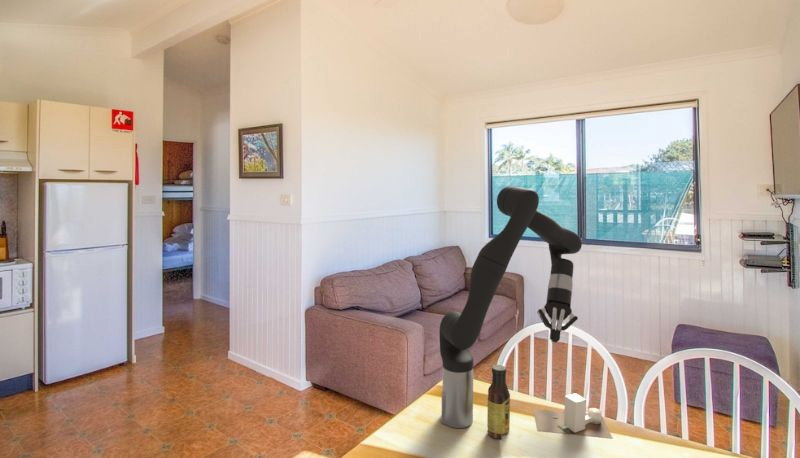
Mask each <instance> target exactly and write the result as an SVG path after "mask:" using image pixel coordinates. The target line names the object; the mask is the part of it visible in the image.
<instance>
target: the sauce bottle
mask: <svg viewBox="0 0 800 458" xmlns="http://www.w3.org/2000/svg"><path fill="white" fill-rule="evenodd" d="M491 373H492V378H491V381H492V382H491V384H490V385H489V387H488V389H487V419H486V420H487V422H486V423H487V434H488V435H489V436H490V437H492V438H493V439H496V440H502V438H503V437H502V436H506V435H508V433H509V432H510V425H511V424H510V423H511V421H510V420H511V419H510V418H511V416H510V415H511V394H510V391H509V388H508V385H507V375H506V374H507V367H506V366H505V365H502V364H494V365H492V366H491Z"/></svg>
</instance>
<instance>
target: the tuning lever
mask: <svg viewBox="0 0 800 458" xmlns="http://www.w3.org/2000/svg"><path fill="white" fill-rule="evenodd" d="M563 410H564V411H563V412H564V426H565V427H563V428H564V429H565V428H569V429H570V430H571V431H573V432H574V433H575V432H578V431H581V430H584V429H585V424H586V423H589V422H591V423H593V424H600V423H601V415H602V411H601V409H599V408H595V407H589V408H588V409H587V399H586V398H585V397H584V396H581V395H580V394H578V393H576V392H575V393H572V394H568V395H565V396H564V409H563ZM586 414H588V415H586Z"/></svg>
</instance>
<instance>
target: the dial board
mask: <svg viewBox="0 0 800 458" xmlns="http://www.w3.org/2000/svg"><path fill="white" fill-rule="evenodd" d="M532 411H533V414H534V419H535V420H534V421H535V425H536V430H537V432H542V433H543V432H545V433H554V434H564V435H572V436H573V435H574V436H582V437H583V436H584V437H593V438H603V439H604V438H605V439H610V440H611V439H613V436H612V434H611V432H610V429H609V428H608V425H607V424H606V421H605V420H604V417H603V415H602V414H601V423H600V424H593V423H591V422H589V423H586V424H585V429H584V430H581V431H578V432H575V433H574V432H573V431H571V430H570V429H569V428H565V429H564V428H563V427H565V426H564V411H560V410H550V409H548V410H546V409H540V408H539V409H538V408H537V409H536V408H533V410H532ZM586 415H588V413H586Z"/></svg>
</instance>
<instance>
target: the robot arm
mask: <svg viewBox="0 0 800 458" xmlns="http://www.w3.org/2000/svg"><path fill="white" fill-rule="evenodd" d="M539 203H540V198H539V193H537V191H535V190H533V189H532V188H531V189H530V188H525V187H520V186H519V187H518V186H514V185H513V186H511V185H510V186H505V187H503V188H502V189H501V190H500V191H499V193H498V194H497V196H496V206H497V208H498V210H499V212H500V213H502V214H503V215H505V216H507V217H509V220H508V221H507V223H506V225H504V228H503V229H502V230H501V231H500V232H499V233H498V234H497V235H496V236H494V237H493V238H492V239H490V240H489V241H488V242H486V244H485V245H484V246H483V247H482V248H481V249H480V251H478V254H477V256H476V259H475V261H474V263H473V265H472V267H471V270H470V277H469V288H468V297H467V300H466V304H465V306H464V307H463V310H462V311H461V312H460V311H455V310H454V311H449V312H447V313H446V314H445V315H444V316H443V317H442V319H441V321H440V324H439V352H440V357H441V360H442V390H441V424H442V425H443V424H444V425H446V426H448V427H450V428H455V429H465V428H467V427H468V428H469V426H471V425H472V424H473V423H474V421H473V420H474V358H473V355H472V353H471V352H470V349H469V348H472V346H473V345H475V343H476V341H478V338H479V336H480V333H481V330H482V327H483V325H484V322H485V318H486V316H487V313H488V310H489V307H490V305H491V303H492V301H493V298H494V296H495V294H496V292H497V290H498V288H499V285H500V284H501V281H502V279H503V277H504V275H505V274H506V271H507V269H508V266H509V263H510V261H511V258H512V257H513V256H514V255H513V254H514V253H515V251H516V249H517V247H518V245H519V243H520V241H521V238H522V237H523V235H524V233H525V232H526V231H527V229H529V230H531V231H532V232H533V233H534V234H536V235H537V236H538V237H540V239H542V240H543V241H544V242H545V243H547V244H548V249H549V250H548V251H549V253H550V262H551V263H550V264H551V268H550V274H549V275H550V276H549V279H548V280H549V281H548V283H547V284H548V285H547V295H546V303H545V305H544V306H543V308H539V309H538V310H537V312H536V314H537V315H538V316H539V318H540V320H541V322H542V323H543V325H544V327H545V328H548V329H549V331H550V333H549V340H550V341H551V343H556V344H557V343H558V342H559V341H560V339H561V338H560V337H561V332H562V331H566V330H567V329H569V328H570V327H571V326H572V325H573V324H574V323H576V321H578V319H579V317H578V316H576V315H575V314H574V313H573V310H572V308H571V305H572V297H573V276H574V263H573V261H572V260H570V259H567V258H563V257H562V255H574V254H577V253H578V252H580V250H581V249H582V244H583V243H582V240H581V237H580V236H579V235H578V233H576V232H575V231H573V230H570V229H568V228H566V227H564V226H561V225H560V223H558V222H557V221H555V220H554V219H553V218H552V217H550V216H549V215H546V214H545V213H543V212H541V211H539V210H538V208H539ZM546 314H547V316H548V317H549V319H550V321H549V320H548V318H547V316H546ZM567 318H568V322H566V323H565V324H564V325H563V322H564V321H565V320H566V319H567Z"/></svg>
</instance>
